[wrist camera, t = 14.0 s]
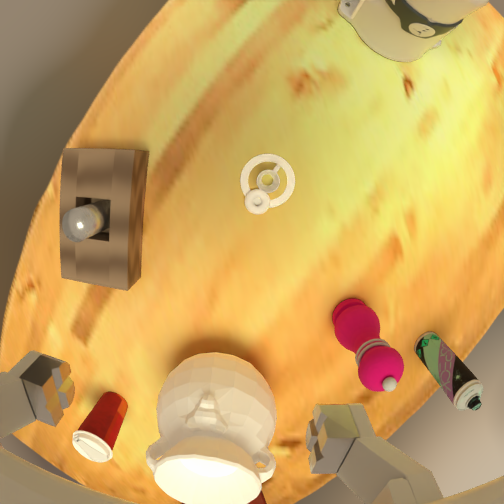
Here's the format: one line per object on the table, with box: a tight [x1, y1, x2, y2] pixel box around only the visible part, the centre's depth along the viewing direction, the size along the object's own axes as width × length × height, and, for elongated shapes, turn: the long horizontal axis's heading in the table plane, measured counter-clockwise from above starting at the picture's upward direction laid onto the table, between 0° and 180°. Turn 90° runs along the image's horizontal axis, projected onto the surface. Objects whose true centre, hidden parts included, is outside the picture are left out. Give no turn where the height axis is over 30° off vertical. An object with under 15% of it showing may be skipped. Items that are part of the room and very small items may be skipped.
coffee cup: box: [73, 392, 128, 462], centre depth 50 cm, size 8×8×15 cm
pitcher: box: [146, 352, 277, 504], centre depth 42 cm, size 19×18×25 cm
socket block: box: [60, 148, 149, 291], centre depth 44 cm, size 20×12×6 cm, turn 172°
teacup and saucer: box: [240, 154, 295, 215], centre depth 44 cm, size 9×8×4 cm
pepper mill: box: [332, 299, 404, 392], centre depth 41 cm, size 7×7×20 cm
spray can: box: [414, 332, 483, 410], centre depth 43 cm, size 6×6×20 cm
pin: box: [62, 200, 111, 242], centre depth 41 cm, size 4×4×10 cm
